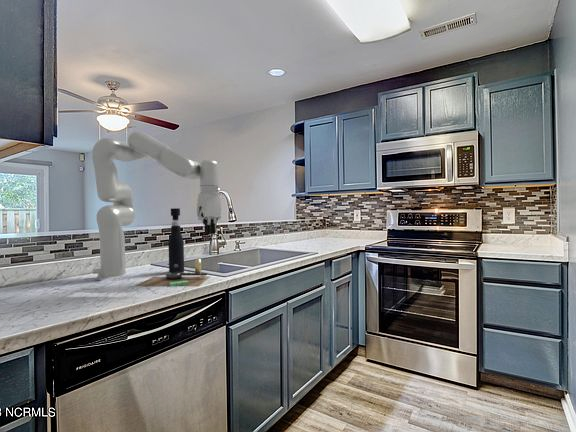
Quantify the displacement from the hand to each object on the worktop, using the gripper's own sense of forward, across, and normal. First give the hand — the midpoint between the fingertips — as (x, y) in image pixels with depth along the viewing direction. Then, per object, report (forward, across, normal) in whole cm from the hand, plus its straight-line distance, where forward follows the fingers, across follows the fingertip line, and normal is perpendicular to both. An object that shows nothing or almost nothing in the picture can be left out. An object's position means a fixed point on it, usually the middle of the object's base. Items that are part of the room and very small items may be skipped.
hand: (210, 233), depth 134 cm
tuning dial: (+17, +9, -5) cm, 20 cm away
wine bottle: (+19, +2, -19) cm, 27 cm away
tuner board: (+19, +14, -5) cm, 24 cm away
